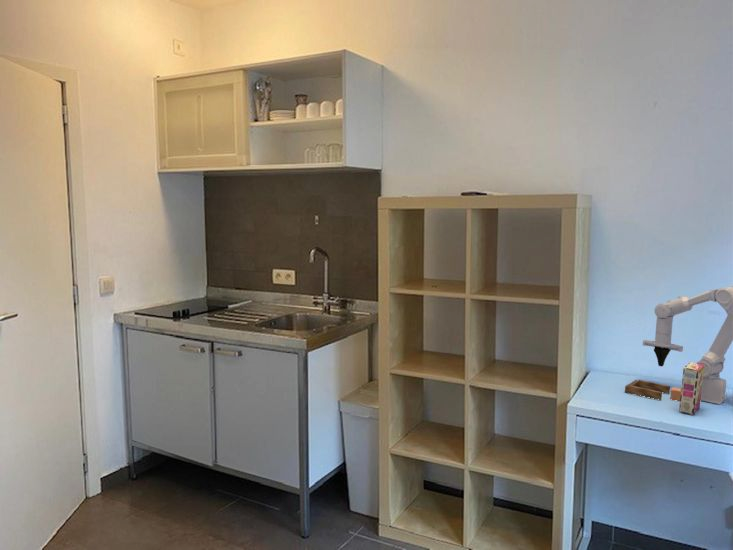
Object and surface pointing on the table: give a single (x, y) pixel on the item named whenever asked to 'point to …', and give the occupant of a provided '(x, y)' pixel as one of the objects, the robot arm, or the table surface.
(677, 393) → the cube
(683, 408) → the candy bar box
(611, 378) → the table surface
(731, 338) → the robot arm
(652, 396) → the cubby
